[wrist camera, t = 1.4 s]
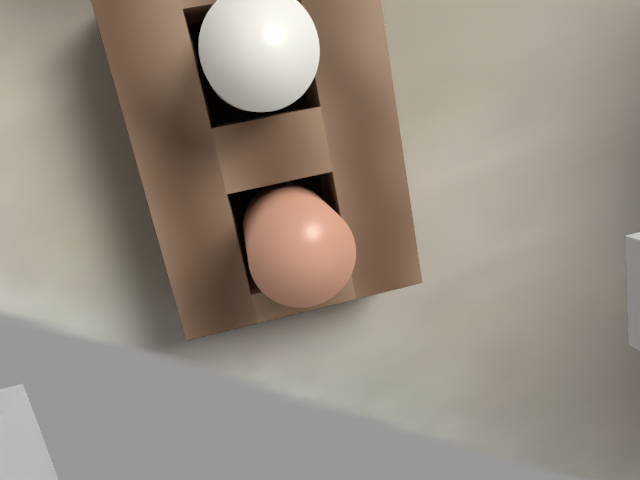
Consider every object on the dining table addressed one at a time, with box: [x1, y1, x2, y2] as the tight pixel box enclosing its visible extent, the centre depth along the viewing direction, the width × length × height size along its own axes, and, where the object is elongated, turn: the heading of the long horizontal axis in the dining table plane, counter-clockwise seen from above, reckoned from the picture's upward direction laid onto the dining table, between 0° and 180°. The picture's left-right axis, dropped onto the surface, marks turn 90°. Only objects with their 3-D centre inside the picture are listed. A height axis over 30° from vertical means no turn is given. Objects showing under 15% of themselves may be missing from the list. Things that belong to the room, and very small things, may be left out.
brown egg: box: [243, 183, 356, 308], centre depth 25 cm, size 4×4×6 cm
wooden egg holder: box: [91, 0, 422, 341], centre depth 27 cm, size 12×16×4 cm
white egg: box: [198, 0, 320, 112], centre depth 22 cm, size 4×4×6 cm
